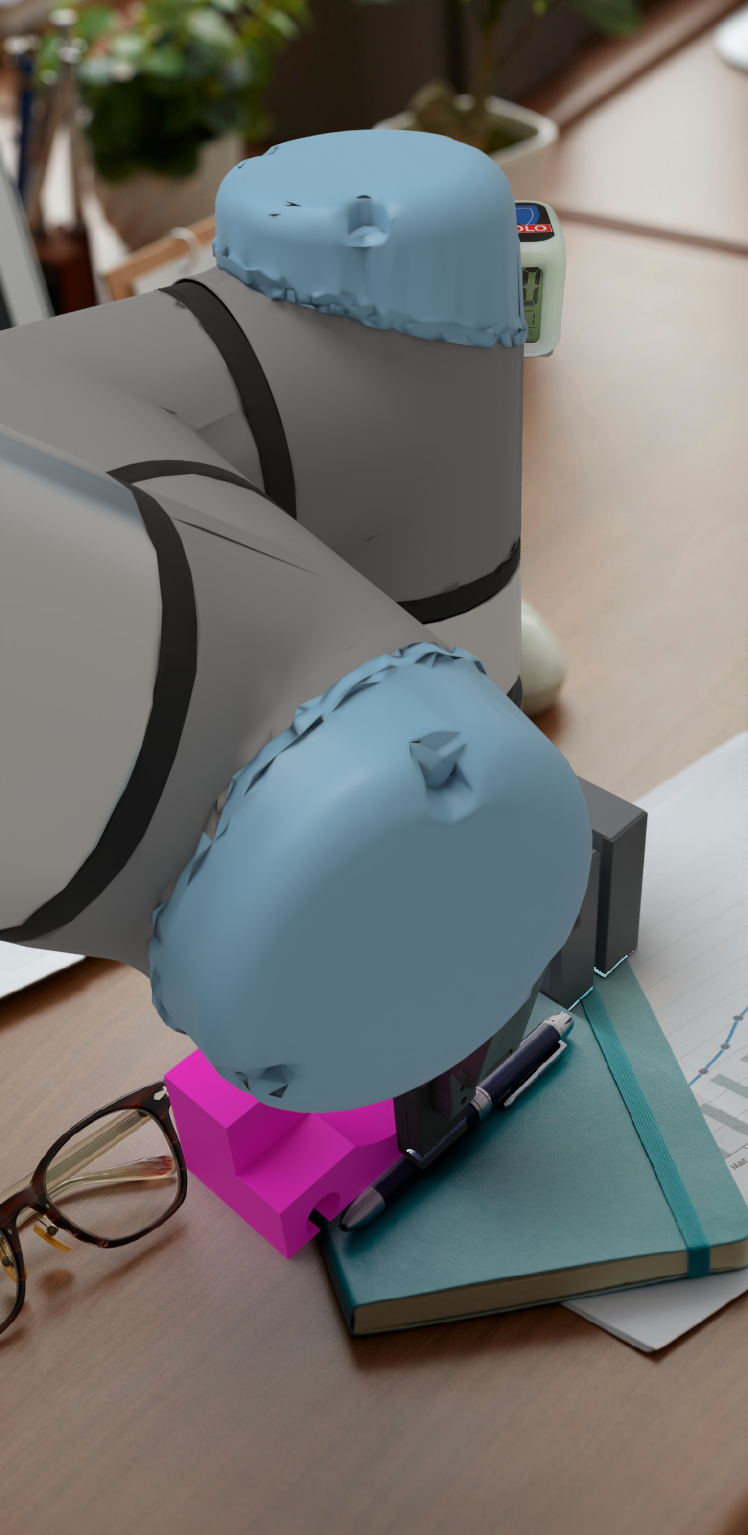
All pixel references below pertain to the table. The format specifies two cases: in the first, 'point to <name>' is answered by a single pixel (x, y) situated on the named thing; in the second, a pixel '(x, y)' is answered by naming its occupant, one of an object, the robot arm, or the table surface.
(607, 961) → the dark gray block
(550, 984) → the gray rectangular block
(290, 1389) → the table surface
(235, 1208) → the toy block
